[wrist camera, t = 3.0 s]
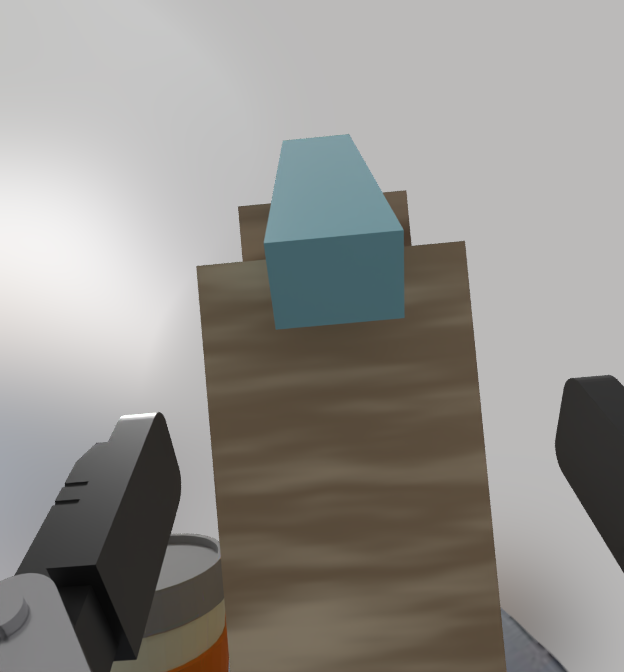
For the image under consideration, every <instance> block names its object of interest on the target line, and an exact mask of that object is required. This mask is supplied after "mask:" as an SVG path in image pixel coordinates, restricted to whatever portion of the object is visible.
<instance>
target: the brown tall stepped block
mask: <svg viewBox="0 0 624 672" xmlns="http://www.w3.org/2000/svg"><path fill="white" fill-rule="evenodd" d="M383 195H384V196H385V198H386V200H387V202H388V203H389V205H390V207H391V209H392V210H393V212H394V214H395V216H396V217H397V219H398V221H399V223H400V224H401V226H402V228H403V230H404V314H405V318H400V319H389V320H377V321H366V322H355V323H344V324H333V325H322V326H311V327H300V328H289V329H278V330H276V328H275V321H274V314H273V307H272V300H271V293H270V285H269V278H268V271H267V264H266V257H265V250H264V238H265V233H266V228H267V223H268V217H269V212H270V207H271V203H270V204H260V205H250V206H239V207H238V211H239V223H240V234H241V246H242V257H243V262H235V263H224V264H213V265H203V266H197V279H198V290H199V303H200V314H201V327H202V339H203V350H204V362H205V374H206V387H207V398H208V411H209V423H210V435H211V446H212V458H213V470H214V482H215V494H216V506H217V518H218V530H219V542H220V554H221V566H222V578H223V590H224V602H225V614H226V626H227V638H228V650H229V662H230V672H506V661H505V651H504V641H503V630H502V620H501V610H500V600H499V589H498V579H497V569H496V558H495V548H494V538H493V528H492V517H491V508H490V507H491V506H490V496H489V486H488V476H487V465H486V455H485V444H484V434H483V424H482V413H481V403H480V393H479V382H478V372H477V362H476V351H475V341H474V330H473V322H472V311H471V300H470V289H469V279H468V270H467V258H466V248H465V241H459V242H449V243H438V244H427V245H418V246H417V245H416V246H411V236H410V226H409V215H408V204H407V194H406V191H395V192H385V193H383Z"/></svg>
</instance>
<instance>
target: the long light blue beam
mask: <svg viewBox="0 0 624 672" xmlns="http://www.w3.org/2000/svg"><path fill="white" fill-rule="evenodd" d="M264 250H265V257H266V264H267V271H268V278H269V285H270V293H271V300H272V307H273V314H274V321H275V328H276V330H278V329H289V328H300V327H311V326H322V325H333V324H344V323H355V322H366V321H377V320H389V319H400V318H405V314H404V230H403V228H402V226H401V224H400V223H399V221H398V219H397V217H396V216H395V214H394V212H393V210H392V209H391V207H390V205H389V203H388V202H387V200H386V198H385V196H384V195H383V193H382V191H381V189H380V188H379V186H378V184H377V182H376V181H375V179H374V177H373V175H372V174H371V172H370V170H369V168H368V167H367V165H366V163H365V161H364V160H363V158H362V156H361V154H360V153H359V151H358V149H357V147H356V146H355V144H354V142H353V141H352V139H351V137H350V135H349V134H346V135H336V136H326V137H316V138H306V139H296V140H286V141H283V144H282V148H281V154H280V159H279V165H278V170H277V175H276V180H275V185H274V191H273V196H272V201H271V207H270V212H269V217H268V223H267V228H266V233H265V238H264Z"/></svg>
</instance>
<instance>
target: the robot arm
mask: <svg viewBox="0 0 624 672" xmlns="http://www.w3.org/2000/svg"><path fill="white" fill-rule="evenodd" d="M555 448H556V449H555V450H556V456H557V460H558V463H559V466H560V468H561V471H562V472H563V474H564V476H565V477H566V479H567V481H568V482H569V484H570V486H571V487H572V489H573V491H574V492H575V494H576V495H577V497H578V499H579V500H580V502H581V504H582V505H583V507H584V509H585V510H586V512H587V513H588V515H589V517H590V518H591V520H592V522H593V523H594V525H595V527H596V528H597V530H598V532H599V533H600V534H601V536H602V538H603V540H604V541H605V543H606V545H607V546H608V548H609V549H610V551H611V553H612V554H613V556H614V558H615V559H616V561H617V563H618V564H619V566H620V567H621V569H622V571H623V572H624V386H623V385H622V384H621V383H620V382H619V381H618V380H617V379H616V378H615V377H613V376H611V375H604V376H592V377H581V378H570V379H568V380H567V381H566V383H565V386H564V391H563V396H562V402H561V408H560V414H559V420H558V427H557V433H556V440H555ZM180 495H181V476H180V470H179V466H178V463H177V459H176V456H175V452H174V448H173V445H172V441H171V438H170V434H169V431H168V427H167V424H166V420H165V418H164V416H163V414H162V413H160V412H158V413H146V414H135V415H123V416H122V417H121V418H120V419H119V421H118V422H117V425H116V427H115V429H114V431H113V433H112V435H111V437H110V439H109V441H108V442H103V443H96V444H95V445H94V446H93V447H92V448H91V449H90V450H89V451H87V453H85V454H84V455H83V456H82V457H81V458H80V459H79V460H78V461H77V462H76V463H75V465H74V467H73V469H72V471H71V473H70V474H69V476H68V478H67V480H66V482H65V487H63V488H62V489H61V491H60V493H59V495H58V496H57V498H56V501H55V505H54V506H52V507H51V509H50V511H49V513H48V515H47V517H46V519H45V520H44V522H43V524H42V526H41V528H40V530H39V531H38V533H37V535H36V537H35V539H34V541H33V543H32V544H31V546H30V548H29V550H28V552H27V554H26V555H25V557H24V559H23V561H22V563H21V565H20V567H19V568H18V570H17V572H16V574H15V575H14V576H12V577H10V578H7V579H4V580H2V581H0V672H110V671H111V667H112V664H113V661H127V660H137V657H138V653H139V650H140V646H141V642H142V639H143V635H144V631H145V627H146V624H147V620H148V616H149V613H150V609H151V605H152V601H153V598H154V594H155V590H156V587H157V583H158V579H159V575H160V572H161V568H162V564H163V561H164V557H165V553H166V549H167V546H168V542H169V538H170V535H171V531H172V527H173V523H174V520H175V516H176V512H177V509H178V505H179V501H180Z"/></svg>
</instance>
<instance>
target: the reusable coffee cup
mask: <svg viewBox="0 0 624 672" xmlns="http://www.w3.org/2000/svg"><path fill="white" fill-rule="evenodd" d="M228 666H229V650H228V638H227V626H226V614H225V602H224V590H223V578H222V566H221V554H220V542H219V541H217V540H216V539H214V538H211V537H208V536H204V535H198V534H171V535H170V538H169V542H168V546H167V549H166V553H165V557H164V561H163V564H162V568H161V572H160V575H159V579H158V583H157V587H156V590H155V594H154V598H153V601H152V605H151V609H150V613H149V616H148V620H147V624H146V627H145V631H144V635H143V639H142V642H141V646H140V650H139V653H138V657H137V660H127V661H113V664H112V667H111V671H110V672H228Z"/></svg>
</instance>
